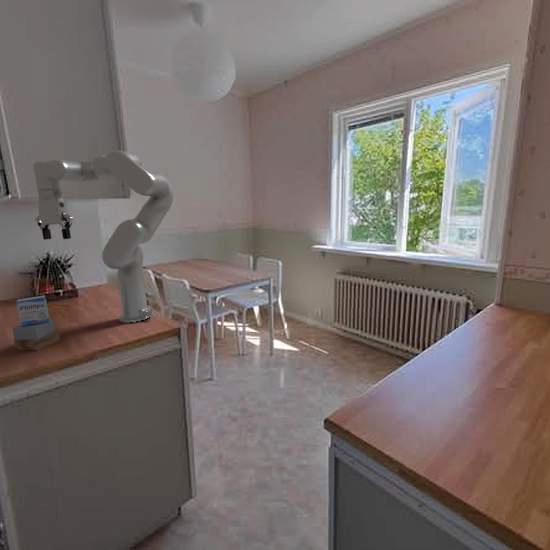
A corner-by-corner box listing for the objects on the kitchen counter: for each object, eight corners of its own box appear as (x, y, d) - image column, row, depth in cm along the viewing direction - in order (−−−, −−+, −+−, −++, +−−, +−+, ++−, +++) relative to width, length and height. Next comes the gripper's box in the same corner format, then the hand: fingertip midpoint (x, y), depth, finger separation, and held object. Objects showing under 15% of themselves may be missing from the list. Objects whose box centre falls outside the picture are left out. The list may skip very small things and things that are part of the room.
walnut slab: (60, 341, 120) (58, 330, 119) (37, 352, 111) (34, 340, 110) (40, 339, 122) (38, 328, 121) (15, 349, 114) (13, 338, 113)
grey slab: (55, 330, 119) (53, 319, 118) (37, 339, 111) (35, 327, 110) (33, 330, 120) (31, 319, 119) (14, 339, 112) (12, 328, 111)
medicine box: (21, 327, 111) (15, 301, 109) (21, 323, 115) (16, 299, 113) (49, 322, 115) (45, 297, 114) (49, 318, 119) (45, 294, 117)
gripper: (75, 194, 134) (82, 237, 137) (41, 196, 138) (48, 238, 142) (59, 193, 127) (67, 239, 130) (23, 195, 131) (31, 240, 135)
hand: (57, 239), depth 136 cm, fingers open, 9 cm apart
